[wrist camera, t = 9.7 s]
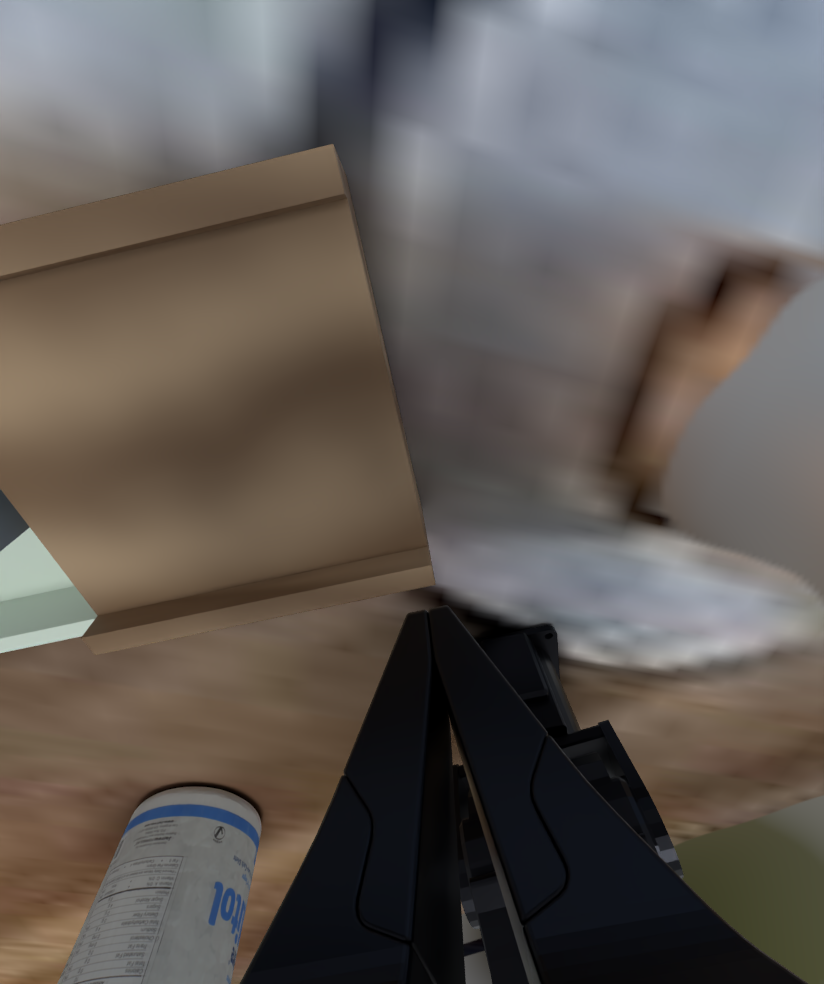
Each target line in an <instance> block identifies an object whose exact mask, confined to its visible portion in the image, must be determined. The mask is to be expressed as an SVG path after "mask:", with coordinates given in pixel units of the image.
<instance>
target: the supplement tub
mask: <svg viewBox="0 0 824 984" xmlns="http://www.w3.org/2000/svg"><path fill="white" fill-rule="evenodd" d="M260 835H261V820H260V817H259V815H258V813H257V811H256V810H255V808H254V807H253V806H252V805H251V804H250V803H248V802H247V801H246V800H244V799H242V798H240V797H239V796H237V795H235V794H233V793H230V792H227V791H224V790H221V789H216V788H210V787H196V786H192V787H180V788H174V789H169V790H166V791H163V792H160V793H157V794H155V795H153V796H151V797H149V798H148V799H147V800H145V801H144V802H143V803H141V804H140V805H139V806H138V808H137V809H136V810H135V811H134V813H133V815H132V817H131V819H130V821H129V824H128V826H127V828H126V830H125V832H124V834H123V836H122V839H121V841H120V843H119V846H118V848H117V850H116V852H115V855H114V857H113V859H112V861H111V864H110V866H109V868H108V871H107V873H106V875H105V878H104V880H103V882H102V884H101V887H100V889H99V891H98V893H97V895H96V898H95V900H94V902H93V904H92V907H91V909H90V911H89V913H88V916H87V918H86V920H85V923H84V925H83V927H82V929H81V932H80V934H79V936H78V938H77V941H76V943H75V945H74V948H73V950H72V952H71V954H70V957H69V959H68V961H67V964H66V966H65V968H64V970H63V973H62V975H61V977H60V979H59V981H58V984H231V979H232V974H233V969H234V964H235V960H236V955H237V950H238V945H239V940H240V935H241V930H242V925H243V920H244V915H245V910H246V905H247V900H248V895H249V890H250V885H251V880H252V876H253V871H254V865H255V860H256V855H257V850H258V845H259V840H260Z"/></svg>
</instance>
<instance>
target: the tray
mask: <svg viewBox="0 0 824 984" xmlns="http://www.w3.org/2000/svg"><path fill="white" fill-rule="evenodd" d="M96 617H97V614H96V613H95V612H94V610H93V609H92V608H91V607H90V605H89V604H88V603H87V601H86V600H85V599H84V597H83V596H82V595H81V593H80V592H79V591H78V590H77V588H76V587H75V586H74V584H73V583H72V582H71V580H70V579H69V578H68V577H67V575H66V574H65V573H64V571H63V570H62V569H61V567H60V566H59V565H58V563H57V562H56V561H55V560H54V558H53V557H52V556H51V554H50V553H49V552H48V550H47V549H46V548H45V547H44V545H43V544H42V543H41V541H40V540H39V539H38V537H37V536H36V535H35V533H34V532H33V531H32V530H31V528H28V529H27V530H26V531H25V532H24V533H22V534H21V535H20V536H19V537H17V538H16V539H15V540H14V541H13V542H11V543H10V544H9V545H8V546H6V547H5V548H4V549H3V550H2V551H0V653H3V652H8V651H13V650H18V649H22V648H27V647H32V646H37V645H42V644H46V643H51V642H56V641H61V640H66V639H70V638H75V637H80V636H83V635H84V633H85V632H86V631H87V629H88V628H89V627H90V625H91V624H92V622H93V621H94V620H95V618H96Z"/></svg>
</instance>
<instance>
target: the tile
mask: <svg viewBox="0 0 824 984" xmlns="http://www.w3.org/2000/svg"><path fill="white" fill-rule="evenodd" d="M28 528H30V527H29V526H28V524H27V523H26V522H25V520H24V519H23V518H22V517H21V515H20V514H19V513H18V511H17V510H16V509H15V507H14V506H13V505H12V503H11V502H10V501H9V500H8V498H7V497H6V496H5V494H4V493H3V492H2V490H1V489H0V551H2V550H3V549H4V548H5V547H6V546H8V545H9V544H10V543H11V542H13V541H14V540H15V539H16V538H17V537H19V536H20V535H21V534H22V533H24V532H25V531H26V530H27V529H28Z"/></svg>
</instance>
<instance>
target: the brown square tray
mask: <svg viewBox="0 0 824 984" xmlns="http://www.w3.org/2000/svg"><path fill="white" fill-rule="evenodd" d="M0 489H1V490H2V492H3V493H4V494H5V496H6V497H7V498H8V500H9V501H10V502H11V503H12V505H13V506H14V507H15V509H16V510H17V511H18V513H19V514H20V515H21V517H22V518H23V519H24V520H25V522H26V523H27V524H28V526H29V527H30V528H31V530H32V531H33V532H34V533H35V535H36V536H37V537H38V539H39V540H40V541H41V543H42V544H43V545H44V547H45V548H46V549H47V550H48V552H49V553H50V554H51V556H52V557H53V558H54V560H55V561H56V562H57V563H58V565H59V566H60V567H61V569H62V570H63V571H64V573H65V574H66V575H67V577H68V578H69V579H70V580H71V582H72V583H73V584H74V586H75V587H76V588H77V590H78V591H79V592H80V593H81V595H82V596H83V597H84V599H85V600H86V601H87V603H88V604H89V605H90V607H91V608H92V609H93V610H94V612H95V613H96V614H97V617H96V618H95V620H94V621H93V622H92V624H91V625H90V627H89V628H88V629H87V631H86V632H85V633H84V635H83V636H82V637H81V639H82V640H83V641H84V642H85V644H86V645H87V646H88V647H89V649H90V650H91V651H92V652H93V653H94V655H98V654H103V653H108V652H113V651H117V650H122V649H127V648H132V647H137V646H142V645H146V644H151V643H156V642H161V641H166V640H171V639H175V638H180V637H185V636H190V635H195V634H200V633H204V632H209V631H214V630H219V629H224V628H229V627H233V626H238V625H243V624H248V623H253V622H258V621H262V620H267V619H272V618H277V617H282V616H287V615H292V614H296V613H301V612H306V611H311V610H316V609H321V608H325V607H330V606H335V605H340V604H345V603H350V602H354V601H359V600H364V599H369V598H374V597H379V596H383V595H388V594H393V593H398V592H403V591H408V590H412V589H417V588H422V587H427V586H432V585H435V579H434V573H433V568H432V562H431V557H430V551H429V545H428V540H427V534H426V529H425V523H424V517H423V512H422V507H421V503H420V498H419V494H418V489H417V485H416V480H415V476H414V472H413V467H412V463H411V458H410V454H409V450H408V445H407V441H406V436H405V432H404V428H403V423H402V419H401V414H400V410H399V406H398V401H397V397H396V392H395V388H394V384H393V379H392V375H391V370H390V366H389V362H388V357H387V353H386V348H385V344H384V340H383V335H382V331H381V326H380V322H379V318H378V313H377V309H376V304H375V300H374V296H373V291H372V287H371V282H370V278H369V274H368V269H367V265H366V260H365V256H364V252H363V247H362V243H361V238H360V234H359V229H358V225H357V221H356V216H355V212H354V207H353V203H352V199H351V194H350V190H349V185H348V181H347V177H346V174H345V172H344V169H343V167H342V164H341V162H340V159H339V157H338V155H337V152H336V150H335V147H334V145H333V144H330V145H326V146H322V147H318V148H314V149H310V150H306V151H302V152H298V153H293V154H289V155H285V156H281V157H277V158H273V159H269V160H265V161H261V162H257V163H252V164H248V165H244V166H240V167H236V168H232V169H228V170H224V171H220V172H216V173H211V174H207V175H203V176H199V177H195V178H191V179H187V180H183V181H179V182H175V183H170V184H166V185H162V186H158V187H154V188H150V189H146V190H142V191H138V192H134V193H129V194H125V195H121V196H117V197H113V198H109V199H105V200H101V201H97V202H93V203H88V204H84V205H80V206H76V207H72V208H68V209H64V210H60V211H56V212H52V213H47V214H43V215H39V216H35V217H31V218H27V219H23V220H19V221H15V222H11V223H7V224H2V225H0Z"/></svg>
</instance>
